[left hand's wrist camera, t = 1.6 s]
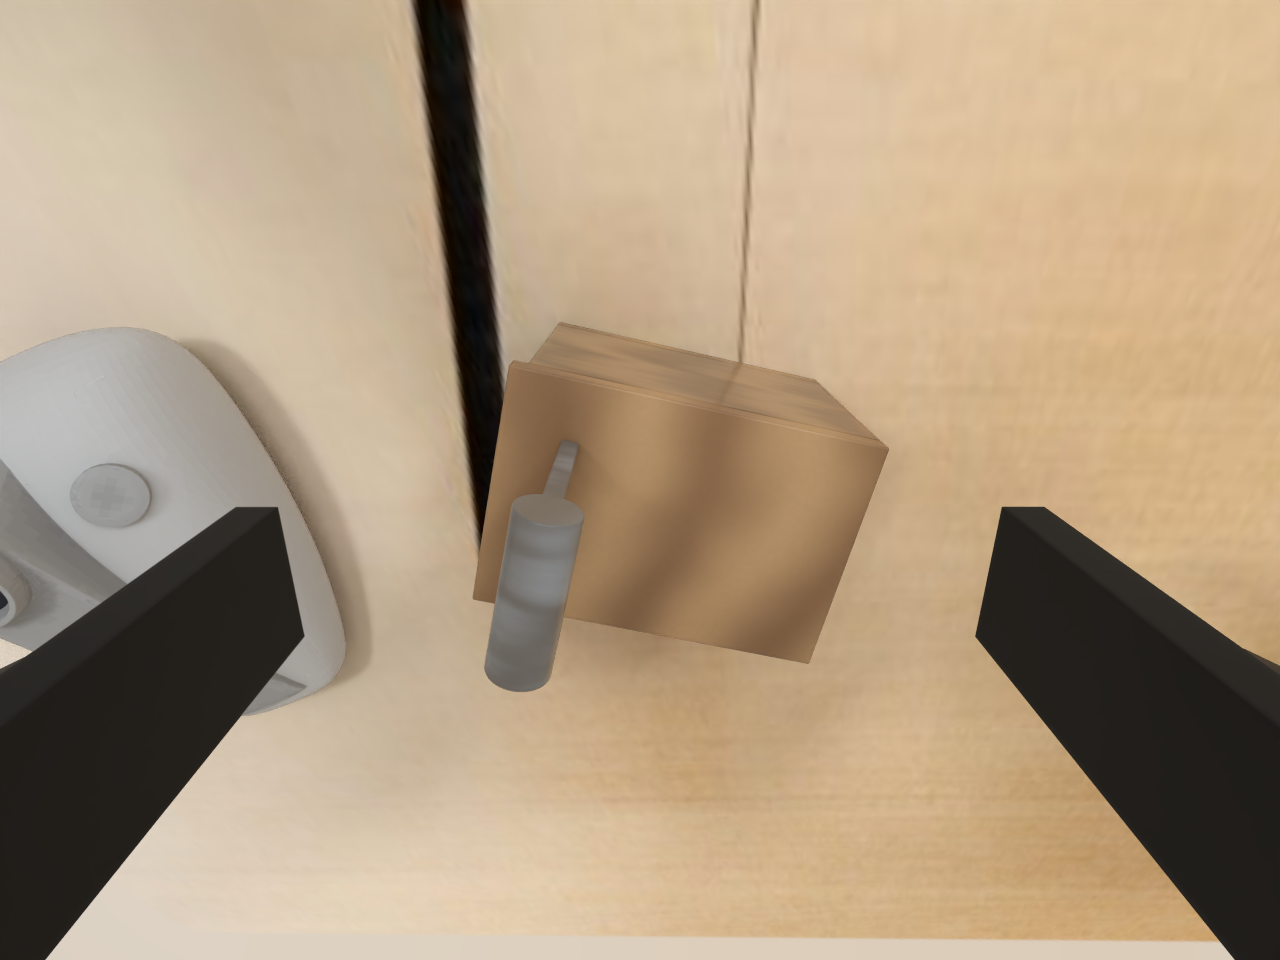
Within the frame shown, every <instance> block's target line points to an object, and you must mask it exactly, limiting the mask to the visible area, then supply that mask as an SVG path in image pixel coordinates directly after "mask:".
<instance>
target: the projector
mask: <svg viewBox="0 0 1280 960" xmlns="http://www.w3.org/2000/svg"><path fill="white" fill-rule="evenodd" d="M235 507H278V509H279V514H280V519H281V524H282V529H283V533H284V538H285V543H286V548H287V553H288V558H289V563H290V567H291V572H292V577H293V582H294V587H295V592H296V597H297V601H298V606H299V611H300V616H301V621H302V626H303V631H304V635H305V637H304V638H303V639H302V640H301V642H300V643H299V644H298V645H297V647H296V648H295V649H294V650H293V652H292V653H291V654H290V655H289V657H288V658H287V659H286V660H285V662H284V663H283V664H282V665H281V667H280V668H279V669H278V670H277V672H276V673H275V674H274V675H273V677H272V678H271V679H270V680H269V682H268V683H267V684H266V685H265V687H264V688H263V689H262V690H261V692H260V693H259V694H258V695H257V697H256V698H255V699H254V700H253V702H252V703H251V704H250V705H249V707H248V708H247V709H246V710H245V711H244V713H243V714H242V715H241V716H249V715H255V714H259V713H263V712H267V711H270V710H273V709H276V708H279V707H281V706H284V705H287V704H289V703H292V702H294V701H297V700H299V699H301V698H304V697H306V696H308V695H310V694H313V693H315V692H316V691H318V690H320V689H322V688H323V687H325V686H326V685H327V684H329V683H330V682H331V681H332V680H333V679H334V677H335V676H336V675H337V673H338V672H339V670H340V668H341V666H342V664H343V661H344V658H345V654H346V641H345V635H344V629H343V625H342V621H341V617H340V613H339V609H338V606H337V603H336V599H335V596H334V593H333V590H332V587H331V584H330V581H329V578H328V576H327V573H326V570H325V567H324V565H323V562H322V559H321V557H320V554H319V552H318V550H317V547H316V545H315V542H314V540H313V538H312V536H311V533H310V531H309V529H308V527H307V525H306V523H305V520H304V518H303V516H302V514H301V512H300V510H299V509H298V507H297V505H296V503H295V501H294V499H293V497H292V495H291V493H290V491H289V489H288V487H287V486H286V484H285V482H284V480H283V479H282V477H281V475H280V473H279V472H278V470H277V468H276V466H275V465H274V463H273V461H272V460H271V458H270V456H269V455H268V453H267V452H266V450H265V448H264V447H263V445H262V443H261V442H260V440H259V439H258V437H257V435H256V434H255V432H254V431H253V429H252V428H251V426H250V425H249V423H248V422H247V420H246V419H245V417H244V416H243V414H242V413H241V411H240V410H239V408H238V407H237V406H236V404H235V403H234V402H233V400H232V399H231V397H230V396H229V395H228V393H227V392H226V391H225V389H224V388H223V387H222V386H221V384H220V383H219V382H218V381H217V379H216V378H215V377H214V376H213V374H212V373H211V372H210V371H209V370H208V369H207V368H206V367H205V366H204V365H203V364H202V363H201V362H200V360H199V359H198V358H197V357H195V356H194V355H193V354H192V353H191V352H190V351H188V350H187V349H186V348H184V347H183V346H182V345H180V344H179V343H177V342H175V341H174V340H172V339H170V338H168V337H166V336H164V335H161V334H159V333H156V332H152V331H149V330H144V329H138V328H129V327H115V328H103V329H95V330H89V331H84V332H79V333H75V334H70V335H67V336H63V337H60V338H57V339H54V340H51V341H48V342H45V343H42V344H40V345H37V346H35V347H32V348H30V349H27V350H25V351H23V352H21V353H19V354H16V355H14V356H12V357H10V358H7V359H5V360H3V361H1V362H0V638H1V639H4V640H6V641H9V642H11V643H14V644H16V645H19V646H21V647H23V648H26V649H28V650H31V651H34V650H36V649H37V648H39V647H40V646H41V645H43V644H44V643H46V642H47V641H48V640H50V639H51V638H53V637H54V636H55V635H57V634H58V633H60V632H61V631H62V630H64V629H65V628H67V627H68V626H69V625H71V624H72V623H74V622H75V621H76V620H78V619H79V618H81V617H82V616H83V615H85V614H86V613H88V612H89V611H90V610H92V609H93V608H95V607H96V606H97V605H99V604H100V603H102V602H103V601H105V600H106V599H107V598H109V597H110V596H112V595H113V594H114V593H116V592H117V591H119V590H120V589H121V588H123V587H124V586H126V585H127V584H128V583H130V582H131V581H133V580H134V579H135V578H137V577H138V576H140V575H141V574H142V573H144V572H145V571H147V570H148V569H149V568H151V567H152V566H154V565H155V564H156V563H158V562H159V561H161V560H162V559H163V558H165V557H166V556H168V555H169V554H170V553H172V552H173V551H175V550H176V549H177V548H179V547H180V546H182V545H183V544H184V543H186V542H187V541H189V540H190V539H191V538H193V537H194V536H196V535H197V534H198V533H200V532H201V531H203V530H204V529H205V528H207V527H208V526H210V525H211V524H212V523H214V522H215V521H217V520H218V519H219V518H221V517H222V516H224V515H225V514H227V513H228V512H229V511H231V510H232V509H234V508H235Z"/></svg>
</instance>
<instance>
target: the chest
mask: <svg viewBox="0 0 1280 960" xmlns="http://www.w3.org/2000/svg"><path fill="white" fill-rule="evenodd" d="M529 364H533V365H537V366H542V367H546V368H551V369H555V370H560V371H564V372H569V373H573V374H578V375H583V376H587V377H592V378H596V379H601V380H605V381H610V382H614V383H619V384H623V385H628V386H632V387H637V388H641V389H646V390H651V391H655V392H660V393H664V394H669V395H673V396H678V397H682V398H687V399H691V400H696V401H700V402H705V403H709V404H714V405H719V406H723V407H728V408H732V409H737V410H741V411H746V412H750V413H755V414H759V415H764V416H768V417H773V418H777V419H782V420H786V421H791V422H796V423H800V424H805V425H809V426H814V427H818V428H823V429H827V430H832V431H836V432H841V433H845V434H850V435H854V436H859V437H864V438H868V439H873V440H877V441H880V440H879V439H878V438H877V437H876V436H875V435H874V434H872V433H871V432H870V431H869V430H868V429H867V428H866V427H865V426H864V425H863V424H862V423H861V422H860V421H859V420H857V419H856V418H855V417H854V416H853V415H852V414H851V413H850V412H849V411H848V410H847V409H846V408H845V407H843V406H842V405H841V404H840V403H839V402H838V401H837V400H836V399H835V398H834V397H833V396H832V395H831V394H829V393H828V392H827V391H826V390H825V389H824V388H823V387H822V386H821V385H820V384H819V383H818V382H817V381H816V380H814V379H809V378H805V377H800V376H796V375H791V374H787V373H783V372H778V371H774V370H769V369H765V368H761V367H756V366H752V365H747V364H743V363H738V362H734V361H730V360H725V359H721V358H716V357H712V356H707V355H703V354H699V353H694V352H690V351H685V350H681V349H677V348H672V347H668V346H663V345H659V344H654V343H650V342H646V341H641V340H637V339H632V338H628V337H624V336H619V335H615V334H610V333H606V332H601V331H597V330H593V329H588V328H584V327H579V326H575V325H570V324H566V323H562V322H560V323H559V324H558V326H557V327H556V328H555V330H554V331H553V332H552V334H551V335H550V336H549V338H548V339H547V340H546V342H545V343H544V344H543V346H542V347H541V348H540V349H539V351H538V352H537V353H536V355H535V356H534V357H533V359H532V360H531V361H530V363H529Z"/></svg>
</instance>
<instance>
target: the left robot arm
mask: <svg viewBox="0 0 1280 960" xmlns="http://www.w3.org/2000/svg"><path fill="white" fill-rule="evenodd" d="M304 637H305V635H304V631H303V626H302V621H301V616H300V611H299V606H298V601H297V597H296V592H295V587H294V582H293V577H292V572H291V567H290V563H289V558H288V553H287V548H286V543H285V538H284V533H283V529H282V524H281V519H280V514H279V509H278V507H235V508H234V509H232V510H231V511H229V512H228V513H227V514H225V515H224V516H222V517H221V518H219V519H218V520H217V521H215V522H214V523H212V524H211V525H210V526H208V527H207V528H205V529H204V530H203V531H201V532H200V533H198V534H197V535H196V536H194V537H193V538H191V539H190V540H189V541H187V542H186V543H184V544H183V545H182V546H180V547H179V548H177V549H176V550H175V551H173V552H172V553H170V554H169V555H168V556H166V557H165V558H163V559H162V560H161V561H159V562H158V563H156V564H155V565H154V566H152V567H151V568H149V569H148V570H147V571H145V572H144V573H142V574H141V575H140V576H138V577H137V578H135V579H134V580H133V581H131V582H130V583H128V584H127V585H126V586H124V587H123V588H121V589H120V590H119V591H117V592H116V593H114V594H113V595H112V596H110V597H109V598H107V599H106V600H105V601H103V602H102V603H100V604H99V605H97V606H96V607H95V608H93V609H92V610H90V611H89V612H88V613H86V614H85V615H83V616H82V617H81V618H79V619H78V620H76V621H75V622H74V623H72V624H71V625H69V626H68V627H67V628H65V629H64V630H62V631H61V632H60V633H58V634H57V635H55V636H54V637H53V638H51V639H50V640H48V641H47V642H46V643H44V644H43V645H41V646H40V647H39V648H37V649H36V650H34V651H33V652H32V653H30V654H29V655H27V656H26V657H24V658H22V659H20V660H18V661H16V662H14V663H12V664H9V665H7V666H5V667H3V668H1V669H0V960H45V959H46V958H47V957H48V956H49V954H50V953H51V952H52V951H53V949H54V948H55V947H56V946H57V944H58V943H59V942H60V941H61V939H62V938H63V937H64V936H65V935H66V933H67V932H68V931H69V930H70V928H71V927H72V926H73V925H74V923H75V922H76V921H77V920H78V918H79V917H80V916H81V915H82V913H83V912H84V911H85V910H86V908H87V907H88V906H89V905H90V903H91V902H92V901H93V900H94V898H95V897H96V896H97V895H98V893H99V892H100V891H101V890H102V888H103V887H104V886H105V885H106V883H107V882H108V881H109V880H110V878H111V877H112V876H113V875H114V873H115V872H116V871H117V870H118V869H119V867H120V866H121V865H122V864H123V862H124V861H125V860H126V859H127V857H128V856H129V855H130V854H131V852H132V851H133V850H134V849H135V847H136V846H137V845H138V844H139V842H140V841H141V840H142V839H143V837H144V836H145V835H146V834H147V832H148V831H149V830H150V829H151V827H152V826H153V825H154V824H155V822H156V821H157V820H158V819H159V817H160V816H161V815H162V814H163V812H164V811H165V810H166V809H167V807H168V806H169V805H170V804H171V802H172V801H173V800H174V799H175V797H176V796H177V795H178V794H179V792H180V791H181V790H182V789H183V788H184V786H185V785H186V784H187V783H188V781H189V780H190V779H191V778H192V776H193V775H194V774H195V773H196V771H197V770H198V769H199V768H200V766H201V765H202V764H203V763H204V761H205V760H206V759H207V758H208V756H209V755H210V754H211V753H212V751H213V750H214V749H215V748H216V746H217V745H218V744H219V743H220V741H221V740H222V739H223V738H224V736H225V735H226V734H227V733H228V731H229V730H230V729H231V728H232V726H233V725H234V724H235V723H236V721H237V720H238V719H239V718H240V716H241V715H242V714H243V713H244V711H245V710H246V709H247V708H248V707H249V705H250V704H251V703H252V702H253V700H254V699H255V698H256V697H257V695H258V694H259V693H260V692H261V690H262V689H263V688H264V687H265V685H266V684H267V683H268V682H269V680H270V679H271V678H272V677H273V675H274V674H275V673H276V672H277V670H278V669H279V668H280V667H281V665H282V664H283V663H284V662H285V660H286V659H287V658H288V657H289V655H290V654H291V653H292V652H293V650H294V649H295V648H296V647H297V645H298V644H299V643H300V642H301V640H302V639H303V638H304ZM975 637H976V638H977V639H978V640H979V642H980V643H981V644H982V645H983V647H984V648H985V649H986V650H987V652H988V653H989V654H990V655H991V657H992V658H993V659H994V660H995V662H996V663H997V664H998V665H999V667H1000V668H1001V669H1002V670H1003V672H1004V673H1005V674H1006V675H1007V677H1008V678H1009V679H1010V680H1011V682H1012V683H1013V684H1014V685H1015V687H1016V688H1017V689H1018V690H1019V692H1020V693H1021V694H1022V695H1023V697H1024V698H1025V699H1026V700H1027V702H1028V703H1029V704H1030V705H1031V707H1032V708H1033V709H1034V710H1035V711H1036V713H1037V714H1038V715H1039V716H1040V718H1041V719H1042V720H1043V721H1044V723H1045V724H1046V725H1047V726H1048V728H1049V729H1050V730H1051V731H1052V733H1053V734H1054V735H1055V736H1056V738H1057V739H1058V740H1059V741H1060V743H1061V744H1062V745H1063V746H1064V748H1065V749H1066V750H1067V751H1068V753H1069V754H1070V755H1071V756H1072V758H1073V759H1074V760H1075V761H1076V763H1077V764H1078V765H1079V766H1080V768H1081V769H1082V770H1083V771H1084V773H1085V774H1086V775H1087V776H1088V778H1089V779H1090V780H1091V781H1092V783H1093V784H1094V785H1095V786H1096V788H1097V789H1098V790H1099V791H1100V792H1101V794H1102V795H1103V796H1104V797H1105V799H1106V800H1107V801H1108V802H1109V804H1110V805H1111V806H1112V807H1113V809H1114V810H1115V811H1116V812H1117V814H1118V815H1119V816H1120V817H1121V819H1122V820H1123V821H1124V822H1125V824H1126V825H1127V826H1128V827H1129V829H1130V830H1131V831H1132V832H1133V834H1134V835H1135V836H1136V837H1137V839H1138V840H1139V841H1140V842H1141V844H1142V845H1143V846H1144V847H1145V849H1146V850H1147V851H1148V852H1149V854H1150V855H1151V856H1152V857H1153V859H1154V860H1155V861H1156V862H1157V864H1158V865H1159V866H1160V867H1161V869H1162V870H1163V871H1164V872H1165V873H1166V875H1167V876H1168V877H1169V878H1170V880H1171V881H1172V882H1173V883H1174V885H1175V886H1176V887H1177V888H1178V890H1179V891H1180V892H1181V893H1182V895H1183V896H1184V897H1185V898H1186V900H1187V901H1188V902H1189V903H1190V905H1191V906H1192V907H1193V908H1194V910H1195V911H1196V912H1197V913H1198V915H1199V916H1200V917H1201V918H1202V920H1203V921H1204V922H1205V923H1206V925H1207V926H1208V927H1209V928H1210V930H1211V931H1212V932H1213V933H1214V935H1215V936H1216V937H1217V938H1218V940H1219V941H1220V942H1221V943H1222V945H1223V946H1224V947H1225V948H1226V950H1227V951H1228V952H1229V953H1230V954H1231V956H1232V957H1233V958H1234V959H1235V960H1280V666H1279V665H1277V664H1275V663H1273V662H1271V661H1269V660H1266V659H1264V658H1262V657H1260V656H1258V655H1256V654H1254V653H1252V652H1250V651H1248V650H1246V649H1243V648H1241V647H1240V646H1239V645H1237V644H1236V643H1234V642H1233V641H1232V640H1230V639H1229V638H1227V637H1226V636H1225V635H1223V634H1222V633H1220V632H1219V631H1218V630H1216V629H1215V628H1213V627H1212V626H1211V625H1209V624H1208V623H1206V622H1205V621H1204V620H1202V619H1201V618H1199V617H1198V616H1197V615H1195V614H1194V613H1192V612H1191V611H1190V610H1188V609H1187V608H1185V607H1184V606H1183V605H1181V604H1180V603H1178V602H1177V601H1175V600H1174V599H1173V598H1171V597H1170V596H1168V595H1167V594H1166V593H1164V592H1163V591H1161V590H1160V589H1159V588H1157V587H1156V586H1154V585H1153V584H1152V583H1150V582H1149V581H1147V580H1146V579H1145V578H1143V577H1142V576H1140V575H1139V574H1138V573H1136V572H1135V571H1133V570H1132V569H1131V568H1129V567H1128V566H1126V565H1125V564H1124V563H1122V562H1121V561H1119V560H1118V559H1117V558H1115V557H1114V556H1112V555H1111V554H1110V553H1108V552H1107V551H1105V550H1104V549H1103V548H1101V547H1100V546H1098V545H1097V544H1096V543H1094V542H1093V541H1091V540H1090V539H1089V538H1087V537H1086V536H1084V535H1083V534H1082V533H1080V532H1079V531H1077V530H1076V529H1075V528H1073V527H1072V526H1070V525H1069V524H1068V523H1066V522H1065V521H1063V520H1062V519H1061V518H1059V517H1058V516H1056V515H1055V514H1053V513H1052V512H1051V511H1049V510H1048V509H1046V508H1045V507H1002V509H1001V514H1000V519H999V524H998V529H997V533H996V538H995V543H994V548H993V553H992V558H991V563H990V567H989V572H988V577H987V582H986V587H985V592H984V597H983V601H982V606H981V611H980V616H979V621H978V626H977V631H976V635H975Z"/></svg>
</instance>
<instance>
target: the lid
mask: <svg viewBox="0 0 1280 960" xmlns="http://www.w3.org/2000/svg"><path fill="white" fill-rule="evenodd" d="M888 451H889V448H888V447H887V446H886V445H885V444H884V443H883V442H881V441H877V440H873V439H868V438H864V437H859V436H854V435H850V434H845V433H841V432H836V431H832V430H827V429H823V428H818V427H814V426H809V425H805V424H800V423H796V422H791V421H786V420H782V419H777V418H773V417H768V416H764V415H759V414H755V413H750V412H746V411H741V410H737V409H732V408H728V407H723V406H719V405H714V404H709V403H705V402H700V401H696V400H691V399H687V398H682V397H678V396H673V395H669V394H664V393H660V392H655V391H651V390H646V389H641V388H637V387H632V386H628V385H623V384H619V383H614V382H610V381H605V380H601V379H596V378H592V377H587V376H583V375H578V374H573V373H569V372H564V371H560V370H555V369H551V368H546V367H542V366H537V365H533V364H528V363H524V362H519V361H513V362H512V363H511V364H510V365H509V369H508V376H507V382H506V388H505V395H504V401H503V408H502V414H501V420H500V427H499V433H498V439H497V446H496V452H495V459H494V465H493V471H492V478H491V484H490V490H489V497H488V503H487V510H486V516H485V522H484V529H483V535H482V541H481V548H480V554H479V560H478V567H477V573H476V580H475V586H474V592H473V599H474V600H479V601H484V602H489V603H494V604H495V606H494V612H493V618H492V624H491V630H490V636H489V642H488V647H487V653H486V659H485V665H484V669H485V673H486V675H487V677H488V678H489V679H490V681H492V682H493V683H494V684H495V685H497V686H499V687H501V688H503V689H506V690H509V691H515V692H528V691H533V690H536V689H539V688H541V687H542V686H544V685H545V684H546V683H547V682H548V680H549V679H550V677H551V673H552V668H553V663H554V659H555V654H556V649H557V645H558V640H559V635H560V631H561V626H562V621H563V617H567V618H572V619H578V620H583V621H588V622H593V623H598V624H604V625H609V626H614V627H619V628H625V629H630V630H635V631H640V632H645V633H651V634H656V635H661V636H666V637H671V638H677V639H682V640H687V641H692V642H697V643H703V644H708V645H713V646H718V647H724V648H729V649H734V650H739V651H744V652H750V653H755V654H760V655H765V656H770V657H776V658H781V659H786V660H791V661H796V662H802V663H807V664H808V663H809V662H810V659H811V656H812V654H813V651H814V648H815V646H816V643H817V640H818V638H819V635H820V632H821V630H822V627H823V624H824V622H825V619H826V616H827V614H828V611H829V608H830V606H831V603H832V600H833V598H834V595H835V592H836V590H837V587H838V584H839V582H840V579H841V576H842V574H843V571H844V568H845V565H846V563H847V560H848V557H849V555H850V552H851V549H852V547H853V544H854V541H855V539H856V536H857V533H858V531H859V528H860V525H861V523H862V520H863V517H864V515H865V512H866V509H867V507H868V504H869V501H870V499H871V496H872V493H873V491H874V488H875V485H876V483H877V480H878V477H879V475H880V472H881V469H882V467H883V464H884V461H885V459H886V456H887V453H888Z"/></svg>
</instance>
